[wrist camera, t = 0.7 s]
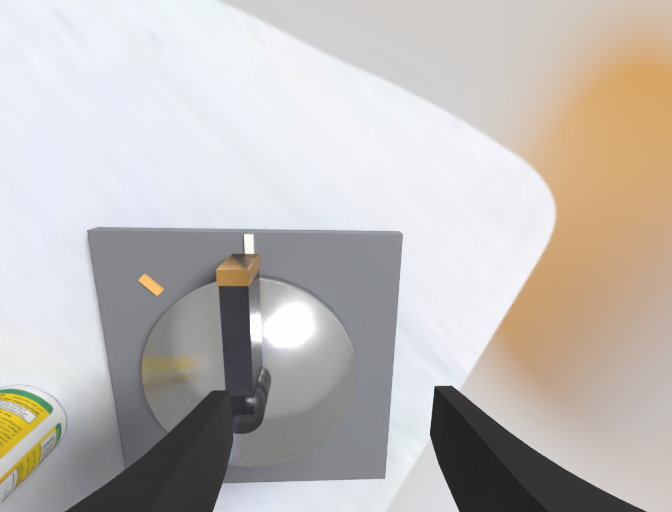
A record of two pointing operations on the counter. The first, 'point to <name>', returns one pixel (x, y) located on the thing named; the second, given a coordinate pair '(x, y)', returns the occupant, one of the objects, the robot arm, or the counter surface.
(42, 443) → the supplement bottle
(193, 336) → the dial
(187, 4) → the counter surface
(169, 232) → the dial plate
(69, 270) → the counter surface
